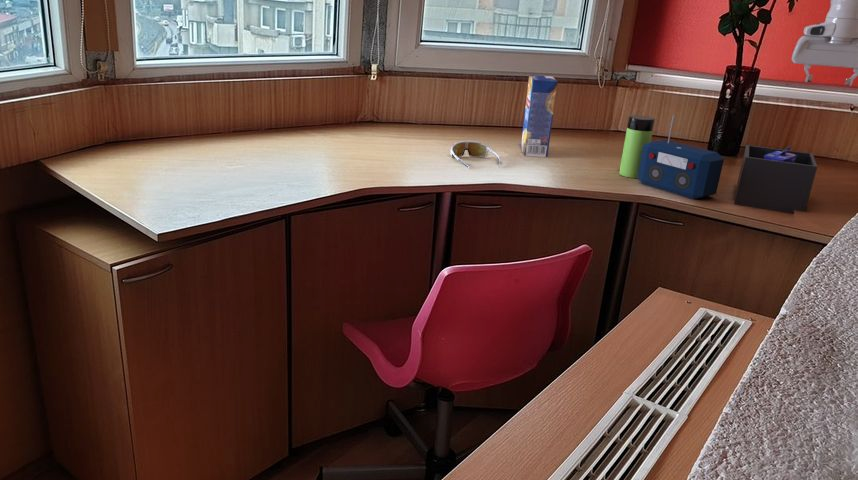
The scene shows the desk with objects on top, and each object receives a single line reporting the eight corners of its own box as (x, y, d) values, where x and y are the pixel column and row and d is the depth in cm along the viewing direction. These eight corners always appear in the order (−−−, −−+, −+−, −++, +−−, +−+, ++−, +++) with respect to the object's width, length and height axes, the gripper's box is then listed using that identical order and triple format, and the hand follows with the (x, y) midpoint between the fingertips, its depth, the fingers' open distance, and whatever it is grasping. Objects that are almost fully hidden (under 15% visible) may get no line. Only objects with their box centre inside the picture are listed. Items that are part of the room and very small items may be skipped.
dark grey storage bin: (800, 198, 200) (812, 153, 195) (803, 215, 185) (817, 166, 180) (735, 188, 206) (746, 144, 202) (734, 204, 191) (745, 157, 187)
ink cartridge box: (772, 203, 190) (787, 150, 185) (751, 198, 194) (764, 146, 189) (786, 197, 197) (800, 145, 191) (765, 192, 201) (778, 141, 195)
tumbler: (618, 171, 219) (627, 114, 213) (643, 173, 218) (653, 115, 211) (620, 177, 212) (630, 118, 206) (646, 179, 211) (657, 120, 204)
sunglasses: (484, 154, 229) (487, 140, 227) (504, 173, 217) (507, 158, 214) (443, 156, 225) (445, 141, 222) (461, 175, 213) (464, 159, 210)
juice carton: (547, 157, 231) (557, 81, 222) (524, 155, 231) (533, 79, 222) (542, 148, 242) (552, 76, 233) (520, 147, 243) (529, 74, 234)
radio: (633, 182, 207) (646, 113, 199) (652, 179, 212) (665, 111, 204) (698, 202, 191) (714, 127, 184) (717, 197, 196) (733, 125, 189)
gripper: (886, 32, 187) (870, 86, 192) (798, 26, 195) (785, 78, 200) (890, 33, 182) (874, 89, 187) (799, 27, 190) (786, 81, 195)
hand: (827, 83), depth 194 cm, fingers open, 8 cm apart
